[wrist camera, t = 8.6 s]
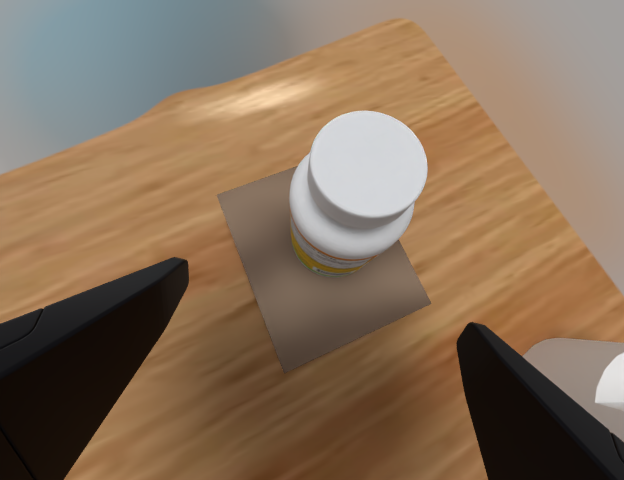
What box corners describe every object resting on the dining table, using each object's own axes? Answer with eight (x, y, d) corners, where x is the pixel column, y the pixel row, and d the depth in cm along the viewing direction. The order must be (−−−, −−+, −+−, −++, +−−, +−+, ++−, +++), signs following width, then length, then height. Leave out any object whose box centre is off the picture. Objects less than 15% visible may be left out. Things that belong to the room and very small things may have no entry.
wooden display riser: (404, 305, 22) (431, 303, 18) (286, 361, 21) (284, 373, 17) (341, 176, 25) (350, 147, 21) (231, 217, 23) (216, 194, 19)
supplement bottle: (339, 185, 20) (379, 67, 10) (388, 246, 19) (482, 178, 9) (274, 228, 19) (255, 140, 9) (324, 295, 18) (357, 273, 8)
